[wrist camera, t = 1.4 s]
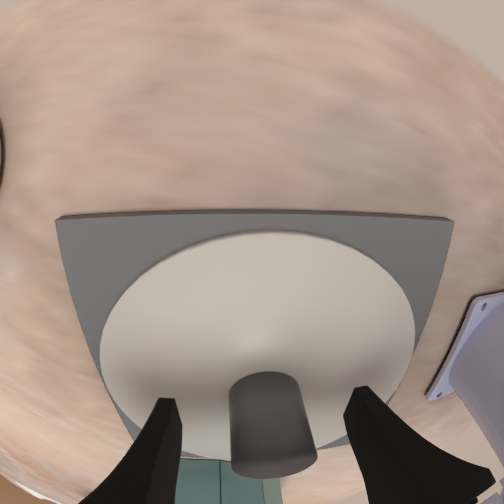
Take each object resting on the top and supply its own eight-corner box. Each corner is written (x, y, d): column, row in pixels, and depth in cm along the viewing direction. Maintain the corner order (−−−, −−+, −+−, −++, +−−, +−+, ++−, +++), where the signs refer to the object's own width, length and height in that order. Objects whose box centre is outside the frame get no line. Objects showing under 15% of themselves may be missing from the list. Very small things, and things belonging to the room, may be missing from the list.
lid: (443, 232, 9) (515, 277, 6) (362, 437, 15) (381, 485, 11) (68, 233, 8) (-4, 290, 5) (145, 449, 14) (137, 502, 10)
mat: (447, 218, 10) (454, 221, 9) (364, 434, 15) (367, 439, 15) (61, 216, 8) (54, 220, 8) (141, 445, 14) (140, 451, 14)
